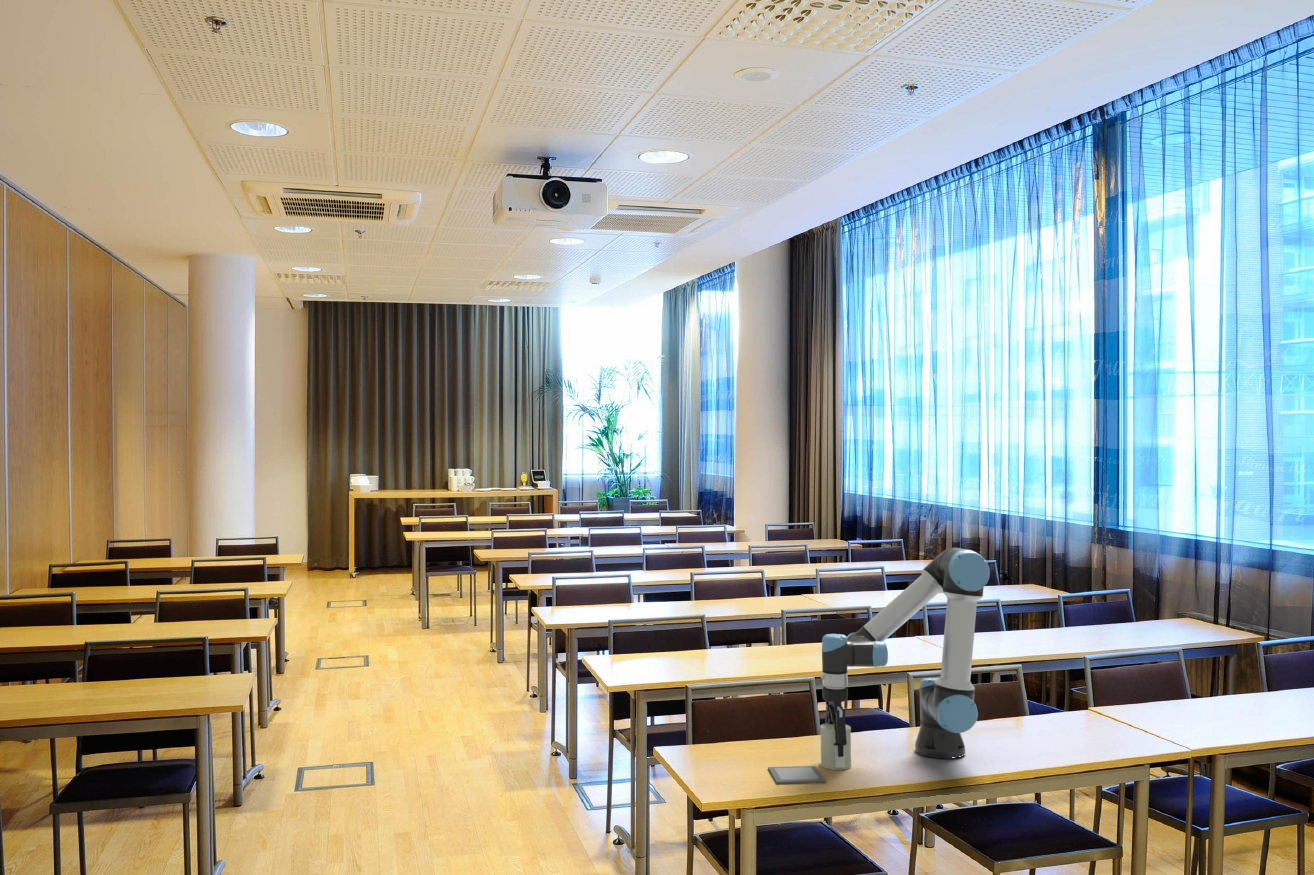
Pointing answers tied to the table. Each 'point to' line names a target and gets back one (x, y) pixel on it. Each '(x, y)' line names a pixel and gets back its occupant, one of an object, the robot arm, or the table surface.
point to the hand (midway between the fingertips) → (836, 762)
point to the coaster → (796, 775)
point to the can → (833, 747)
